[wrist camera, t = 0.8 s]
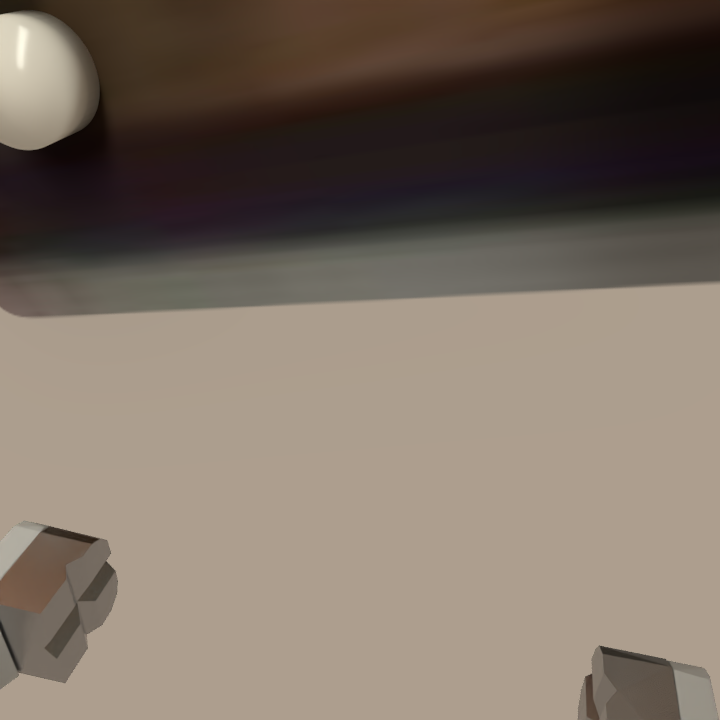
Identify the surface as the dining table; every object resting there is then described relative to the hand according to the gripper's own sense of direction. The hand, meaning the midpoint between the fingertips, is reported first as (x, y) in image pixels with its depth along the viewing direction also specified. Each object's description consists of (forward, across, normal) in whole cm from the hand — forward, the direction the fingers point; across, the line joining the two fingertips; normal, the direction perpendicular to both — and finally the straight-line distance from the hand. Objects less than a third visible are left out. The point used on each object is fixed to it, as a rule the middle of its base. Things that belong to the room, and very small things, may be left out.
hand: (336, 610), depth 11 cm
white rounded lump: (+42, +34, +2) cm, 55 cm away
